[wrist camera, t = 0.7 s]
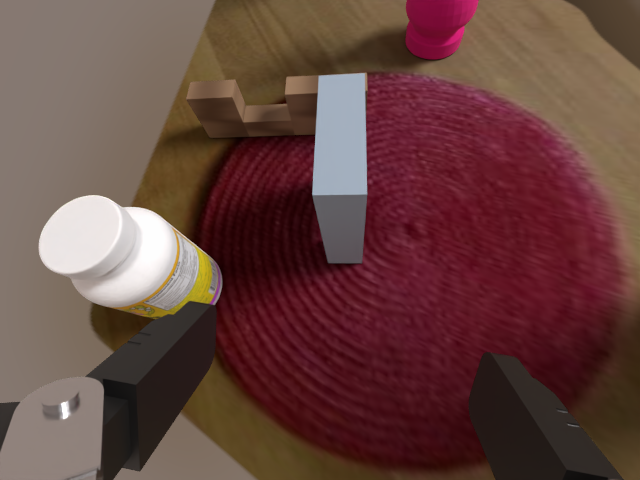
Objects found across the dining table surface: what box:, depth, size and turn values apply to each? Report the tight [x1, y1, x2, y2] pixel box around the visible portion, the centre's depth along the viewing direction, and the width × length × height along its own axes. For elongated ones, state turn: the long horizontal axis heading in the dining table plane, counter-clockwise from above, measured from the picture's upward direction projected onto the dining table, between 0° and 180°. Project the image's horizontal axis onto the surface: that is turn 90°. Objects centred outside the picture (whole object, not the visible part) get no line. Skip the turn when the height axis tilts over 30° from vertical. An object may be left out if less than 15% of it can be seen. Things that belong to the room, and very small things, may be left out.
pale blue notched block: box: [312, 73, 367, 263], centre depth 25 cm, size 9×3×12 cm, turn 178°
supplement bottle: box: [39, 195, 222, 319], centre depth 23 cm, size 7×7×13 cm
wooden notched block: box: [186, 73, 367, 138], centre depth 33 cm, size 17×2×6 cm, turn 88°
